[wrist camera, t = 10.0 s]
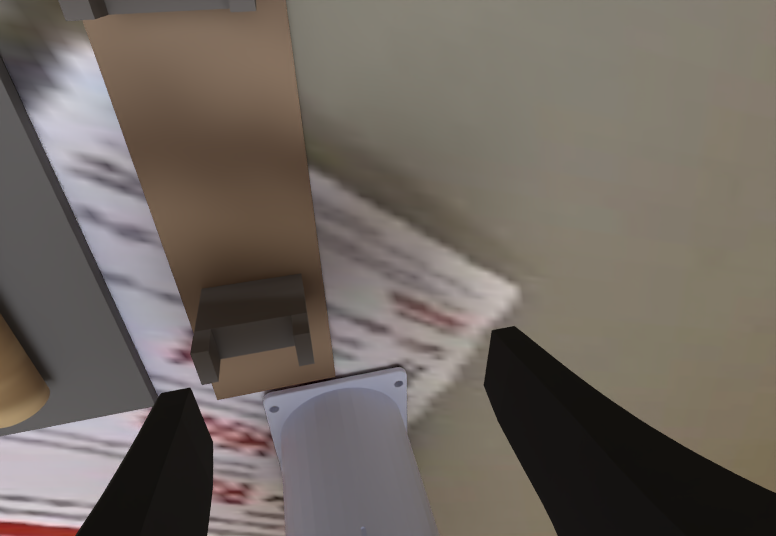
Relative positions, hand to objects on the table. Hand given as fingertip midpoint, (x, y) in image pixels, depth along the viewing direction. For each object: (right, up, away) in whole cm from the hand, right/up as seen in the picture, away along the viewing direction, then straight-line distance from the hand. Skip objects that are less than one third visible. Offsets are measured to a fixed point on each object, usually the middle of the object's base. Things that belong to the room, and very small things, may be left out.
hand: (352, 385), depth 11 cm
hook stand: (-5, +7, +7) cm, 11 cm away
